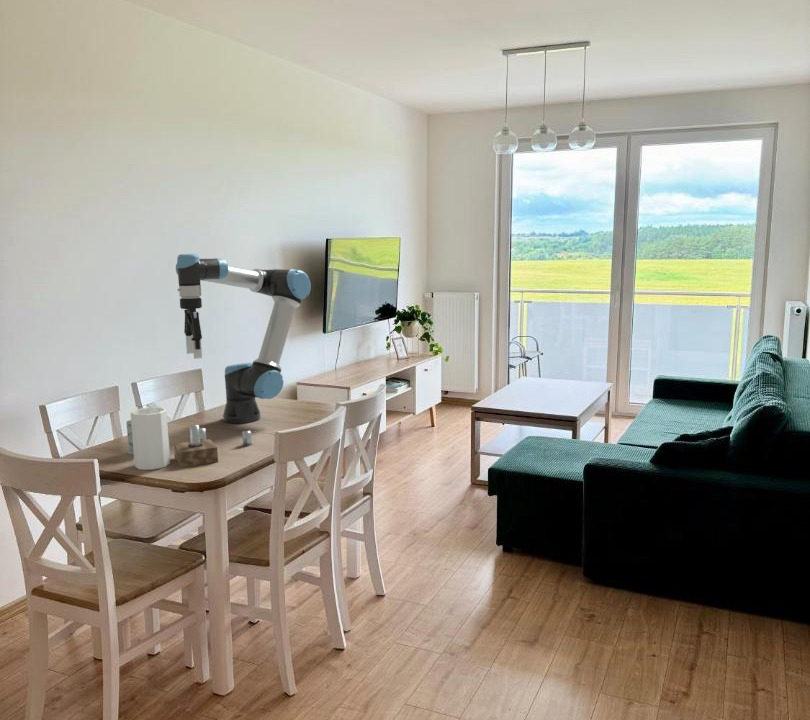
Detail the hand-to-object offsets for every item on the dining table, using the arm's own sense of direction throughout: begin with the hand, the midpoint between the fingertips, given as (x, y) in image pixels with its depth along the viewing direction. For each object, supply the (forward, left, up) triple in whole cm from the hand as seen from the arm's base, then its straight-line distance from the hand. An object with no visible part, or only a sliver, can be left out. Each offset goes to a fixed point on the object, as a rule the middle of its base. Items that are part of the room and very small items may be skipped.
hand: (194, 355), depth 272 cm
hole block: (+6, +25, -32) cm, 41 cm away
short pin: (-14, +15, -32) cm, 38 cm away
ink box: (+21, +7, -32) cm, 39 cm away
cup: (+20, +24, -32) cm, 45 cm away
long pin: (+6, +25, -32) cm, 41 cm away
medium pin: (+2, +15, -32) cm, 35 cm away
